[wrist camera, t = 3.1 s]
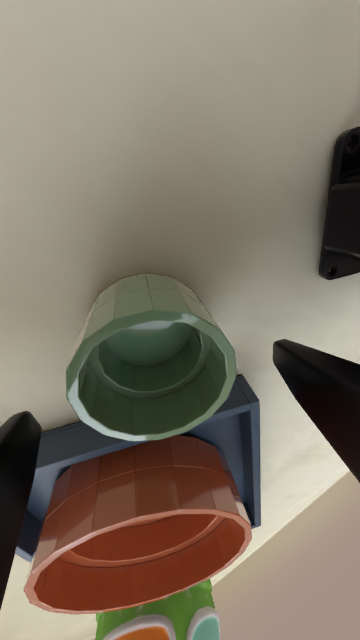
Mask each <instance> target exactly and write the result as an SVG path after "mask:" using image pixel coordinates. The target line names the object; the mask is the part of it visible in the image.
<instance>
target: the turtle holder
mask: <svg viewBox="0 0 360 640" xmlns="http://www.w3.org/2000/svg"><path fill="white" fill-rule="evenodd" d="M211 591H212V585H211V581H210V579H208V580H206V581H204V582H202V583H200V584H198V585H196V586H193V587H191V588H189V589H187V590H185V591H183V592H180V593H177V594H174V595H172V596H169V597H166V598H164V599H161V600H158V601H155V602H151V603H147V604H143V605H140V606H136V607H132V608H128V609H122V610H116V611H110V612H104V613H96V621H97V623H98V625H97V631H96V639H95V640H220V622H219V617H218V614H217V612H216V610H215V607H214V602H213V599H212V595H211Z"/></svg>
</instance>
